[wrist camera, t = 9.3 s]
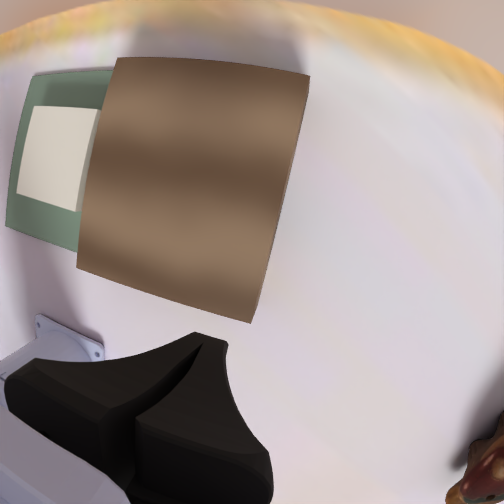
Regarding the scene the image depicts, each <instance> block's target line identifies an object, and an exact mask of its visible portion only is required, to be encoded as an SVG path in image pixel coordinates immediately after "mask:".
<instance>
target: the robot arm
mask: <svg viewBox="0 0 504 504" xmlns="http://www.w3.org/2000/svg"><path fill="white" fill-rule="evenodd" d="M35 325H36V338H37V339H35V340H33V341H32V342H30V343H28V344H27V345H25V346H24V347H22V348H20V349H19V350H17V351H15V352H14V353H12V354H11V355H9V356H7V357H6V358H4V359H2V360H1V361H0V504H270V502H271V500H272V497H273V492H274V483H273V472H272V466H271V461H270V456H269V452H268V451H267V449H266V448H265V447H264V446H263V445H262V444H261V443H260V442H259V441H258V440H257V438H256V437H255V436H254V435H253V433H252V432H251V431H250V429H249V428H248V426H247V425H246V423H245V421H244V419H243V417H242V416H241V414H240V412H239V410H238V408H237V406H236V403H235V401H234V398H233V395H232V393H231V389H230V385H229V381H228V376H227V369H226V353H227V349H228V343H227V341H224V340H221V339H217V338H214V337H211V336H207V335H204V334H201V333H197V332H193V333H191V334H188V335H186V336H184V337H182V338H180V339H178V340H175V341H173V342H171V343H169V344H166V345H164V346H161V347H159V348H156V349H153V350H150V351H147V352H144V353H141V354H138V355H134V356H130V357H125V358H120V359H113V360H104V347H103V346H102V344H100V343H99V342H96V341H94V340H92V339H90V338H87V337H85V336H83V335H81V334H79V333H77V332H75V331H73V330H70V329H68V328H66V327H64V326H62V325H60V324H58V323H56V322H54V321H52V320H50V319H48V318H47V317H45V316H43V315H41V314H38V315H36V316H35ZM97 352H98V353H99V354H98V353H97Z"/></svg>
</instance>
